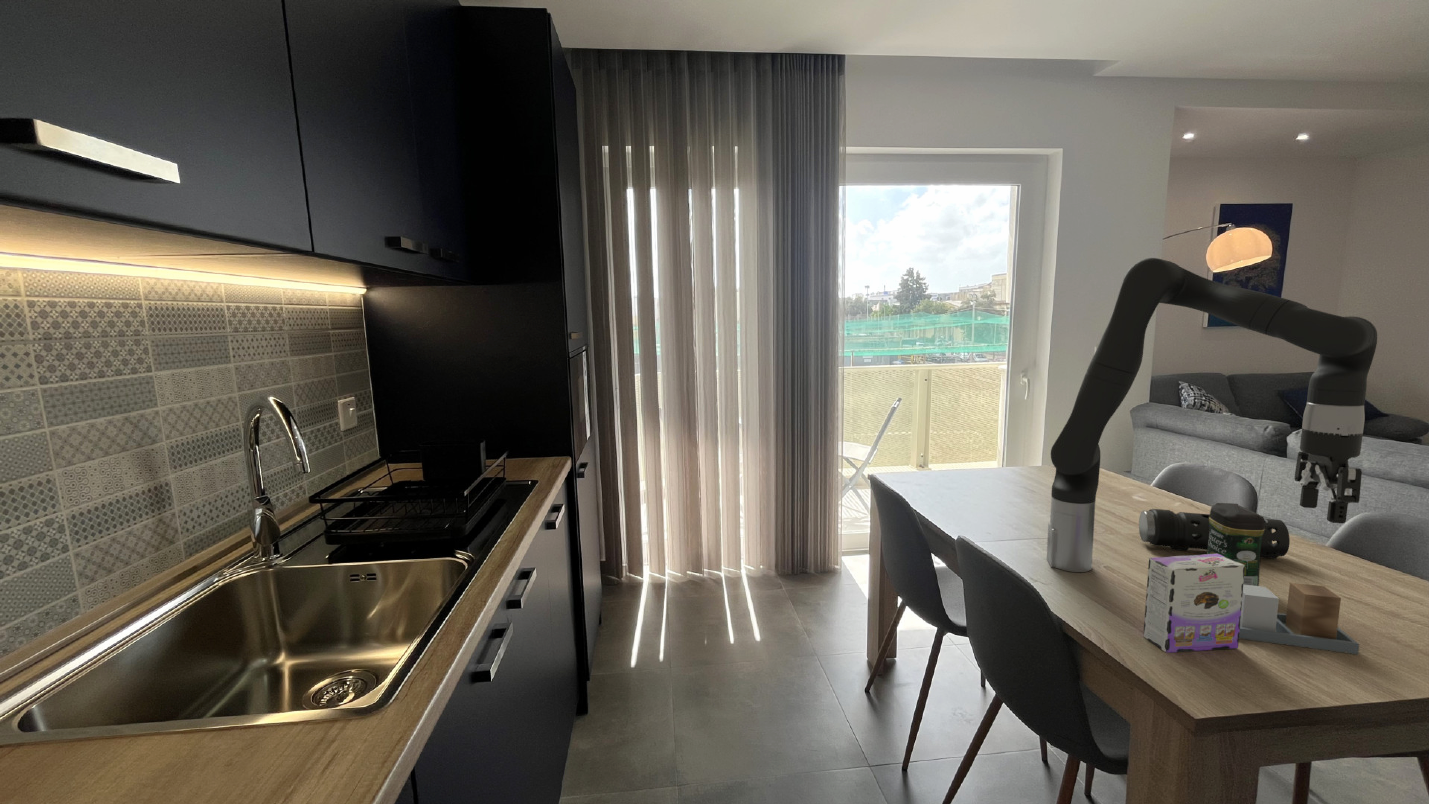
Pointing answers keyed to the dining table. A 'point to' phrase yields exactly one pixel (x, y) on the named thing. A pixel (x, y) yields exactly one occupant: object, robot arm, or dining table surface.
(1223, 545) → the coffee jar
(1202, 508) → the dining table surface
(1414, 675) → the dining table surface
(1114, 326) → the robot arm
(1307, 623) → the walnut plug
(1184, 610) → the candy box
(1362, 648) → the dining table surface
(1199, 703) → the dining table surface
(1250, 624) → the divider rack
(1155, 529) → the muzzle brake
